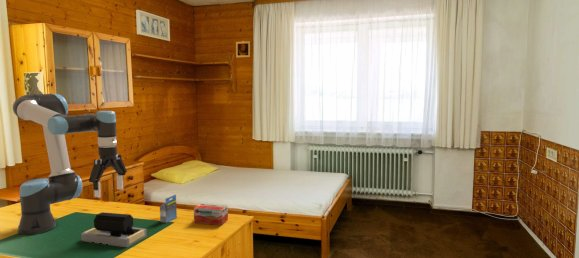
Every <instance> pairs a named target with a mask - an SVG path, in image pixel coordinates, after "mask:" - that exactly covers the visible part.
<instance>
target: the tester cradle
mask: <svg viewBox="0 0 579 258" xmlns="http://www.w3.org/2000/svg"><path fill="white" fill-rule="evenodd" d="M132 229H133V230H134V231H136V233H134V234H133V235H131V236H129V235H130V234H129V235H124V234H122V233H121V235H122V236H121V237H116V236H109V235H110V231H100V230H97V229H96V228H94V227H92V228H91V229H88V230H85V231H84V232H81V236H80V237H81V242H85V243H86V242H87V243H92V242H94V243H93V244H99V243H102V244H101V245H106V244H108V245H107V246H114V247H121V248H129V247H131V246H133V245H134V244H136V243H138V242H139V241H141V240H143V239H145V238H147V237H148V232H147V228H141V227H133V226H132Z"/></svg>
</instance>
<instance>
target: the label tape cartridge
mask: <svg viewBox="0 0 579 258" xmlns="http://www.w3.org/2000/svg"><path fill="white" fill-rule="evenodd" d="M164 199H165V203H162V204H161V205H159V220H160V221H159V222H160V223H163V224H164V223H166V224H167V223H169V222H171V221H172V220H175V219H176V218H178V215H177V214H178V213H177V211H178V210H177V194H174V195H171V196H168V197H166V198H164Z"/></svg>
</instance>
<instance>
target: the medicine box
mask: <svg viewBox="0 0 579 258" xmlns="http://www.w3.org/2000/svg"><path fill="white" fill-rule="evenodd" d="M228 210H229V209H228V205H227V204H215V203H213V204H212V203H199V204H198V205H196V206H194V207H193V221H194V224H204V225H216V226H217V225H218V226H222V225H223V224H225V223H226V221H228V220H229V211H228Z"/></svg>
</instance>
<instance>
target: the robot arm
mask: <svg viewBox="0 0 579 258" xmlns="http://www.w3.org/2000/svg"><path fill="white" fill-rule="evenodd" d="M68 105H69V103H68V102H67V100H66V98H65V97H64V96H63V95H61V94H59V93H39V94H36V93H35V94H34V93H33V94H30V93H29V94H24V95H20V97H19V96H18V98H16V99H15V100H14V102H13V104H12V110H13V114H14V115H15V116H16V117H18V118H19V119H21V120H24V121H31V122H34V123H36V124H39V125H42V129H43V136H44V140H45V145H46V146H45V147H46V150H47V151H46V152H47V155H48V156H47V157H48V161H49V167H50V171H51V172H50V174H49V175H48V178H46V177H40V178H33V179H31V180H30V179H29V180H27V181H24V182H23V183H22V184H21V185H20V187H19V200H20V201H19V202H20V210H21V214H20V215H21V216H20V220H19V224H18V227H17V231H18V232H17V233H18V234H21V235H38V234H43V233H45V232H49V231H51V230H53V229H55V228H56V226H57V225H56V224H57V223H56V219H55V218H54V215H53V214H52V211H51V205H53V204H58V203H61V202H66V201H71V200H73V199H76V198H78V197H79V196H80V195H81V194H82V191H83V181H82V178H81V177H80V175H78V174H76V172H75V170H73V169H71V164H70V163H71V162H70V157H69V153H68V147H67V141H66V134H68V135H69V134H75V133H76V134H77V133H78V134H79V133H86V132H87V133H88V132H97V145H98V149H97V152H98V156H99V159H98V158H95V159H93V166H92V169H91V171H90V175H89V179H88V182H89V183H92V187H93V191H94V193H93V194H94V198H99V199H100V198H101V197H102V190H101V189H102V188H101V182H100V180H101V179H102V176H103V174H104V172H105V171H106V169H108V168H111V167H112V169H114V171H115V172H116V173H117V175H116V187H117V190H120V191H121V190H124V176H126V174H127V172H128V171H127V168H126V166H125V164H124V161H123V159H122V155H121V154H119V153H118V147H117V145H118V144H117V118H116V117H117V116H116V112H115V111H113V110H98V111H97V112H96V114H94V113H85V114H77V115H68V114H69V106H68Z"/></svg>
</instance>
